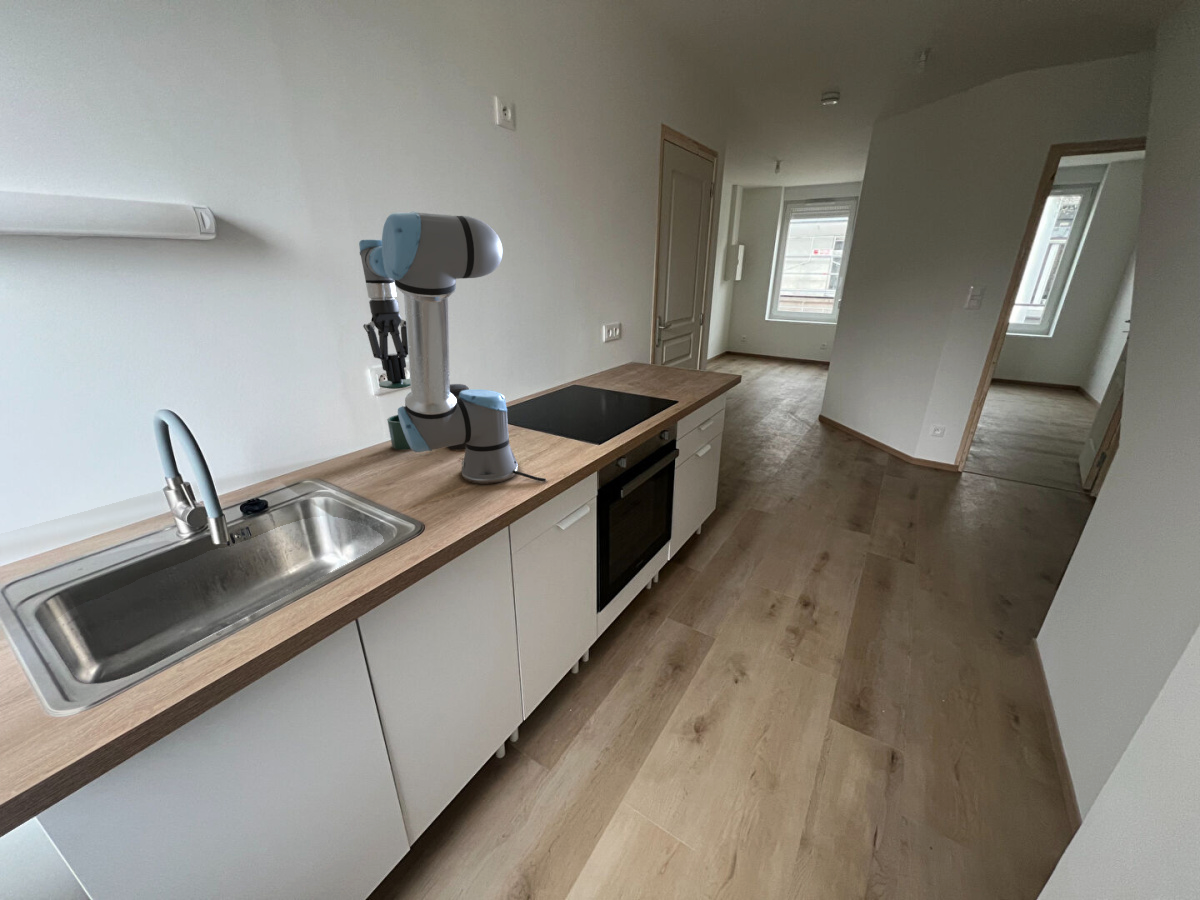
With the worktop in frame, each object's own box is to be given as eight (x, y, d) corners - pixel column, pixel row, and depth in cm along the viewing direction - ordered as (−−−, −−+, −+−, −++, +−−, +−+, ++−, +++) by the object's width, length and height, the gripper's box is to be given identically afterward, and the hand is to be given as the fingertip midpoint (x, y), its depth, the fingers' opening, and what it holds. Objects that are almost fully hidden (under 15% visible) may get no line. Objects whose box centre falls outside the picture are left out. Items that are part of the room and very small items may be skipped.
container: (467, 452, 141) (459, 389, 133) (441, 450, 142) (432, 387, 135) (479, 442, 148) (473, 382, 141) (454, 440, 150) (446, 381, 143)
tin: (428, 444, 147) (424, 416, 143) (402, 453, 140) (397, 424, 136) (413, 439, 152) (408, 412, 148) (386, 446, 145) (381, 418, 142)
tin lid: (422, 385, 140) (417, 353, 136) (391, 391, 132) (385, 358, 129) (403, 381, 145) (399, 350, 142) (373, 387, 138) (367, 355, 134)
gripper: (401, 297, 137) (413, 373, 146) (348, 300, 125) (364, 383, 134) (415, 298, 133) (427, 376, 142) (361, 300, 121) (377, 386, 130)
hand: (396, 379), depth 138 cm, fingers closed on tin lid, 3 cm apart
